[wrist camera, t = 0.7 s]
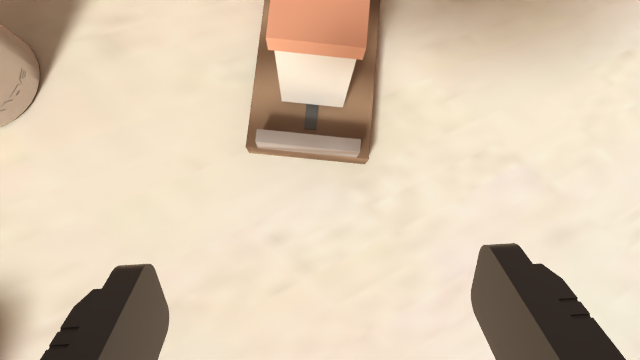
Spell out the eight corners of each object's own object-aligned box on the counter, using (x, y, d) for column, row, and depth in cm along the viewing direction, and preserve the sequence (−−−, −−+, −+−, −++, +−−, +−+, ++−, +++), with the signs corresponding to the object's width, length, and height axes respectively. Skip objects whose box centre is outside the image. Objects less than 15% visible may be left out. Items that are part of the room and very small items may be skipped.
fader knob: (346, 111, 32) (366, 48, 22) (277, 104, 32) (265, 37, 22) (350, 59, 33) (372, -26, 23) (283, 51, 33) (274, -37, 22)
